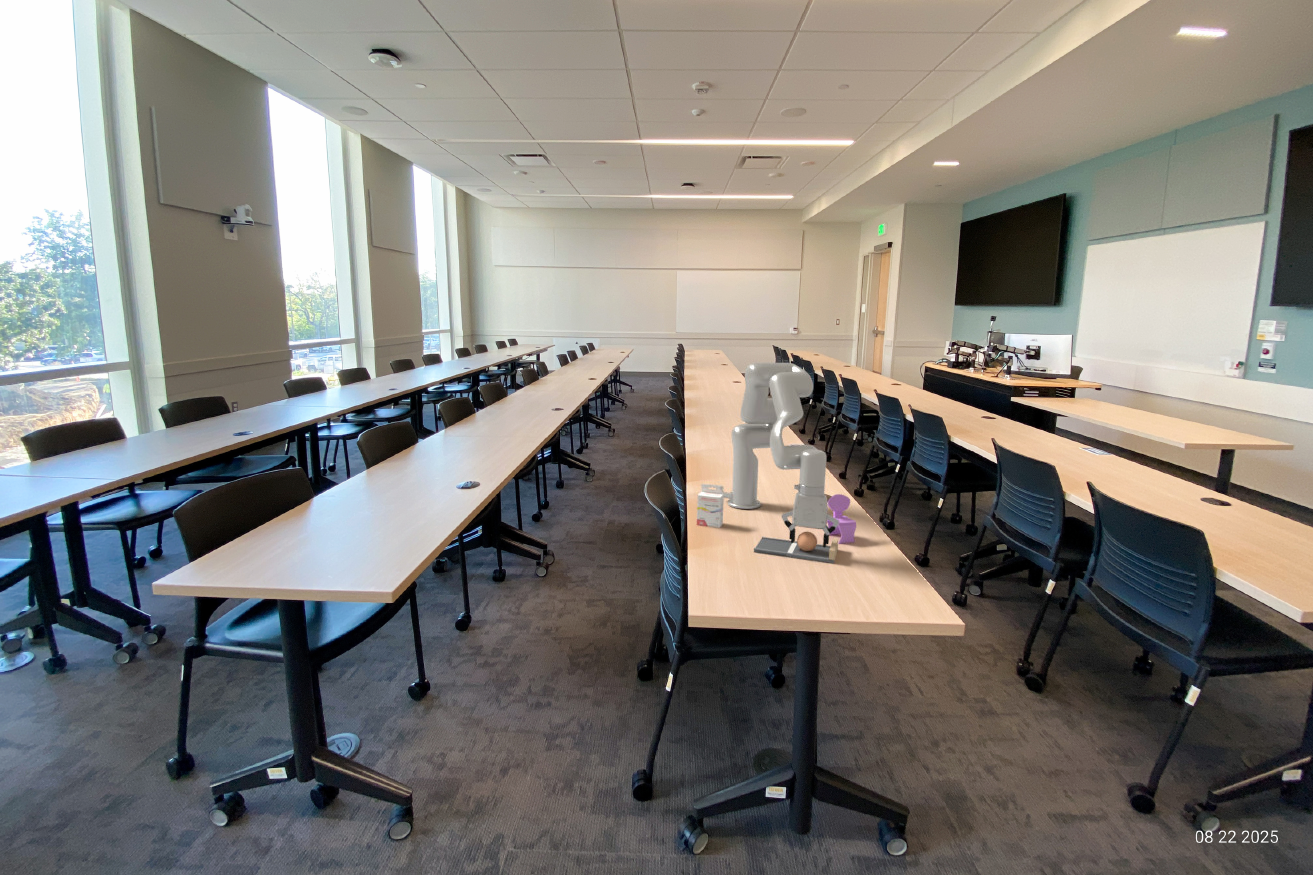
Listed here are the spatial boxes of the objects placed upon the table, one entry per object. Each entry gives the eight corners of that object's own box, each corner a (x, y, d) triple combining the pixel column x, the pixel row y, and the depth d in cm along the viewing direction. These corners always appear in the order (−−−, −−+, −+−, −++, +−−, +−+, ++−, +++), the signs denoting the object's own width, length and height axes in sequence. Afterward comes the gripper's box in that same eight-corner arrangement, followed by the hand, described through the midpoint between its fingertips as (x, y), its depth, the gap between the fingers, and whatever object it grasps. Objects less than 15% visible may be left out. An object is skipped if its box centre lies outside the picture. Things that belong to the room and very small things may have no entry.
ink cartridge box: (696, 527, 210) (696, 486, 207) (699, 523, 214) (700, 483, 212) (720, 529, 207) (721, 488, 204) (723, 525, 211) (724, 485, 209)
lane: (753, 552, 186) (754, 539, 185) (761, 540, 197) (762, 528, 196) (833, 563, 177) (834, 550, 176) (837, 550, 188) (838, 538, 187)
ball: (815, 534, 181) (815, 554, 181) (818, 530, 186) (818, 549, 186) (795, 533, 183) (795, 552, 184) (799, 529, 189) (799, 547, 189)
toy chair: (836, 545, 192) (838, 500, 190) (821, 537, 201) (824, 493, 198) (858, 543, 194) (861, 499, 192) (843, 535, 203) (846, 492, 200)
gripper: (780, 490, 182) (778, 543, 185) (840, 496, 176) (836, 551, 178) (785, 484, 189) (782, 536, 192) (842, 490, 182) (838, 543, 185)
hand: (808, 543), depth 185 cm, fingers open, 9 cm apart
